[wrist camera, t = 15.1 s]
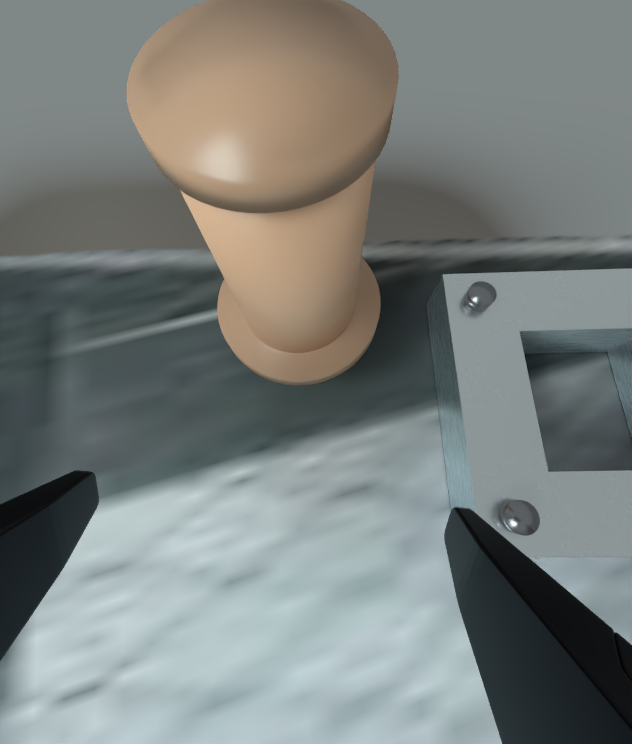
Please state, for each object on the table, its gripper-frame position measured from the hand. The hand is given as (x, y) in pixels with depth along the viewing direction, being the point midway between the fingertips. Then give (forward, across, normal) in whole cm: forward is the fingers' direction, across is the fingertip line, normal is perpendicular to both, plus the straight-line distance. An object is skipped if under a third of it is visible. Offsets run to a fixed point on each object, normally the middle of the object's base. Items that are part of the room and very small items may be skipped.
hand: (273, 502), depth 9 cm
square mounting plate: (+9, -13, +1) cm, 16 cm away
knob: (+11, 0, -1) cm, 11 cm away
